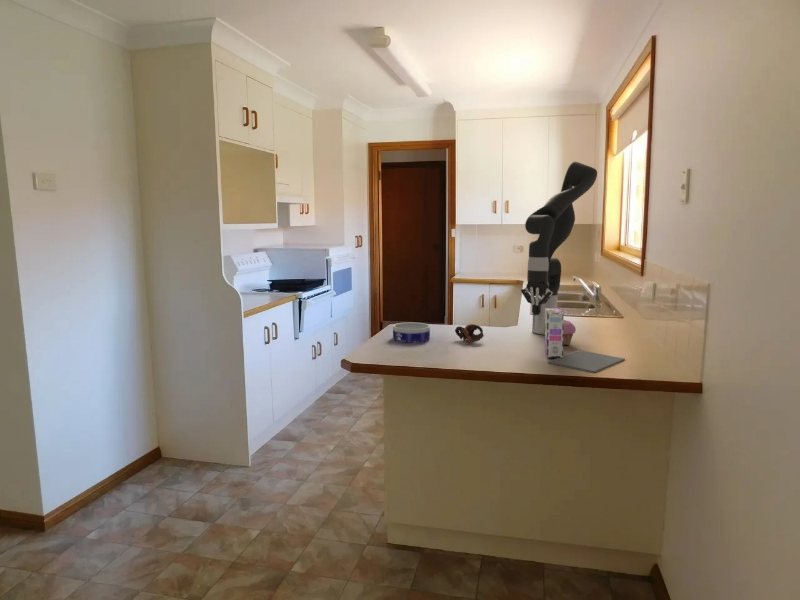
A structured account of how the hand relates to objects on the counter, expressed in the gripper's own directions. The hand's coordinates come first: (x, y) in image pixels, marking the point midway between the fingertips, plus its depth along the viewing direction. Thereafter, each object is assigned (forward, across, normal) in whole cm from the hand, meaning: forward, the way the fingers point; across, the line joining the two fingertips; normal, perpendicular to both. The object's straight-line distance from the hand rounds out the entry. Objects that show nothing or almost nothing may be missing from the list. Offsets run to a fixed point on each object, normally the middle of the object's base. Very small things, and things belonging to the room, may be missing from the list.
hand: (536, 314), depth 208 cm
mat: (+14, +21, -1) cm, 25 cm away
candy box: (+14, +8, 0) cm, 16 cm away
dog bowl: (+14, -46, -19) cm, 52 cm away
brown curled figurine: (+14, -27, -5) cm, 31 cm away
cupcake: (+14, +2, +18) cm, 23 cm away
